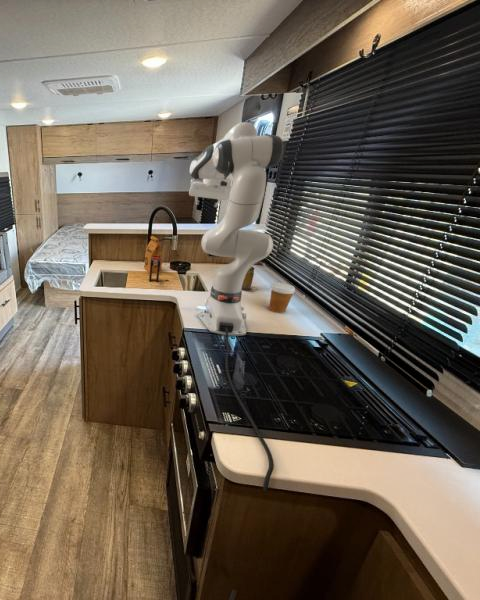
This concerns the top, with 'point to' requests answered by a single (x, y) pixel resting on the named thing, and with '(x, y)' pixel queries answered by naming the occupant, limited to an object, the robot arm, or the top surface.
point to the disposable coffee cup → (280, 296)
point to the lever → (156, 260)
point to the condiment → (248, 280)
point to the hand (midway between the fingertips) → (206, 205)
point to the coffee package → (153, 254)
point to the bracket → (157, 270)
